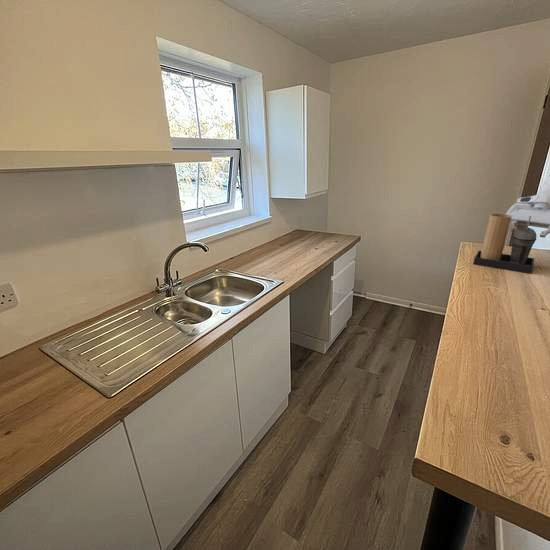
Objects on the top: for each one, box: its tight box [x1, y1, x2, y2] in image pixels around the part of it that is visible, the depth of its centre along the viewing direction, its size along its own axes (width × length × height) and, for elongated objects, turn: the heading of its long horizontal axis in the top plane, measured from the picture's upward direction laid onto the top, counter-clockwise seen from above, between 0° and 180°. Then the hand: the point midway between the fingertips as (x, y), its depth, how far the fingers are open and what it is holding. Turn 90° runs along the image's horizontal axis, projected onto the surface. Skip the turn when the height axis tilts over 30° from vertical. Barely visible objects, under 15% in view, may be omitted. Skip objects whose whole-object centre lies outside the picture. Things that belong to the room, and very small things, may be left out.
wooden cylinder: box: [480, 213, 512, 261], centre depth 123 cm, size 7×7×20 cm
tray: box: [473, 250, 535, 275], centre depth 123 cm, size 19×11×3 cm, turn 51°
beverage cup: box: [510, 216, 537, 265], centre depth 117 cm, size 7×7×20 cm
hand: (527, 234), depth 116 cm, fingers open, 8 cm apart
